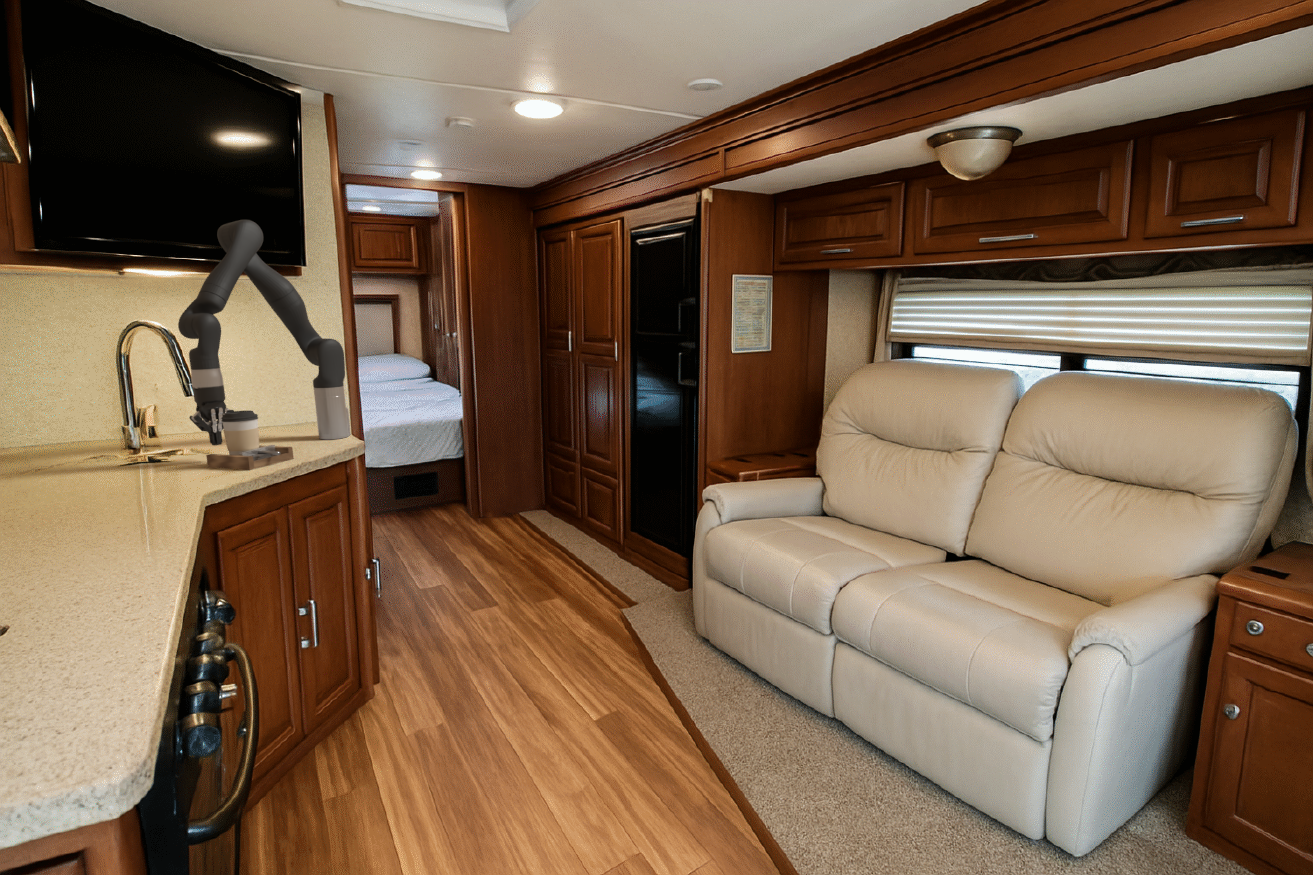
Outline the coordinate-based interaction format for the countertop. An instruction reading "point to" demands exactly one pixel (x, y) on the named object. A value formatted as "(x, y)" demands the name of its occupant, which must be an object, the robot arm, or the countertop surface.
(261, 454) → the pusher
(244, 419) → the coffee cup
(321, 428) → the robot arm
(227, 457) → the wooden tray
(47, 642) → the countertop surface
